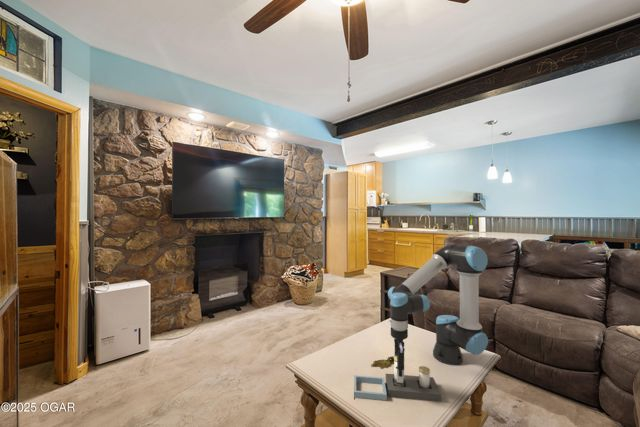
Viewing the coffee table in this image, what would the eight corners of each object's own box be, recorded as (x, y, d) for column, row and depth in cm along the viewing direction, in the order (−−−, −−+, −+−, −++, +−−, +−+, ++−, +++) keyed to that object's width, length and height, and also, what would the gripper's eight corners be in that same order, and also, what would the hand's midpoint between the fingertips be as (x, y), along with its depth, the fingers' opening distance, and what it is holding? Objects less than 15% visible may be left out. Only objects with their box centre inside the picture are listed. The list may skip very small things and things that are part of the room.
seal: (376, 376, 134) (400, 369, 140) (376, 367, 134) (400, 361, 139) (366, 364, 143) (389, 358, 148) (366, 356, 142) (389, 350, 148)
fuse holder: (433, 385, 125) (433, 377, 125) (441, 403, 113) (441, 394, 113) (385, 381, 128) (385, 373, 128) (388, 398, 116) (388, 389, 116)
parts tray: (383, 384, 125) (383, 377, 125) (386, 402, 114) (386, 394, 114) (354, 382, 127) (354, 375, 127) (353, 399, 116) (353, 391, 116)
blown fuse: (403, 386, 123) (403, 356, 123) (405, 392, 119) (405, 361, 119) (393, 385, 124) (393, 355, 124) (394, 391, 119) (394, 360, 119)
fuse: (428, 388, 122) (428, 366, 122) (431, 395, 117) (430, 372, 117) (417, 387, 122) (417, 365, 122) (420, 394, 118) (420, 371, 118)
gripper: (388, 319, 130) (388, 367, 130) (393, 335, 113) (393, 390, 113) (404, 320, 129) (404, 368, 129) (411, 337, 112) (411, 392, 112)
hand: (399, 378), depth 121 cm, fingers closed on blown fuse, 4 cm apart
